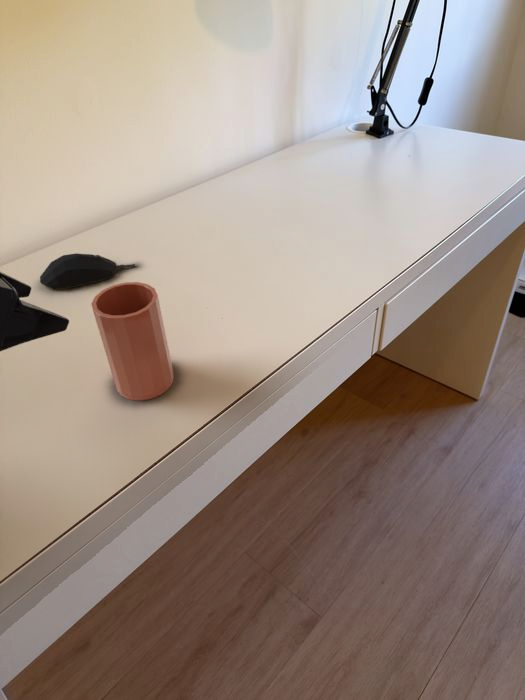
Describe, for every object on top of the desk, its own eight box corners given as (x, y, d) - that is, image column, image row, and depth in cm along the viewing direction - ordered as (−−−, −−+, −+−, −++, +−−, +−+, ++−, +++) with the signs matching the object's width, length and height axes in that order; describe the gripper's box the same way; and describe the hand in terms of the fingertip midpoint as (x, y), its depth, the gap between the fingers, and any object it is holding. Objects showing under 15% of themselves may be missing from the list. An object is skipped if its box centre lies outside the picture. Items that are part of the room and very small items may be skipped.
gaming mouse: (138, 275, 84) (133, 253, 82) (42, 295, 81) (34, 272, 79) (132, 257, 89) (127, 236, 87) (41, 275, 86) (34, 253, 83)
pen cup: (121, 407, 61) (96, 324, 54) (111, 371, 66) (87, 290, 59) (179, 390, 63) (163, 307, 56) (166, 356, 68) (149, 276, 61)
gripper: (-95, 185, 32) (123, 256, 44) (-144, 141, 44) (37, 206, 56) (-144, 351, 34) (78, 377, 45) (-178, 265, 46) (4, 303, 57)
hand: (47, 307), depth 51 cm, fingers open, 9 cm apart
